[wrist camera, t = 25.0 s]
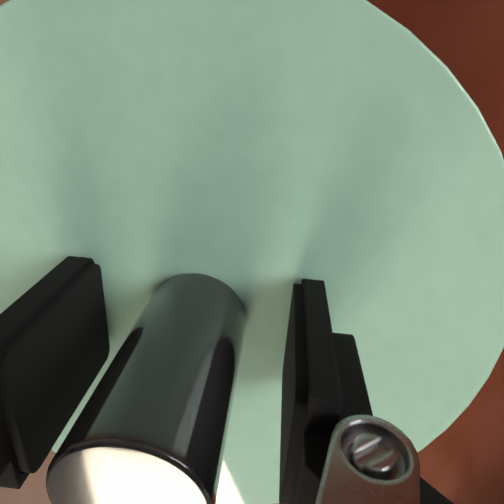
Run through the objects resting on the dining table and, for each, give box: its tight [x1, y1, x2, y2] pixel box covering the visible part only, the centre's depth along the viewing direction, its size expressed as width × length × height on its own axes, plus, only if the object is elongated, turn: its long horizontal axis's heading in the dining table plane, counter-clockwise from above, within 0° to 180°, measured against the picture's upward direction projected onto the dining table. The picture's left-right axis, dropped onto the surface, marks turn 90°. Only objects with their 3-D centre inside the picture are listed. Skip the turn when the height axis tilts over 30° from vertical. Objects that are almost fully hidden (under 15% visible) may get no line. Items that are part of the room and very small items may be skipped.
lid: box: [0, 0, 504, 504], centre depth 9 cm, size 16×16×6 cm
